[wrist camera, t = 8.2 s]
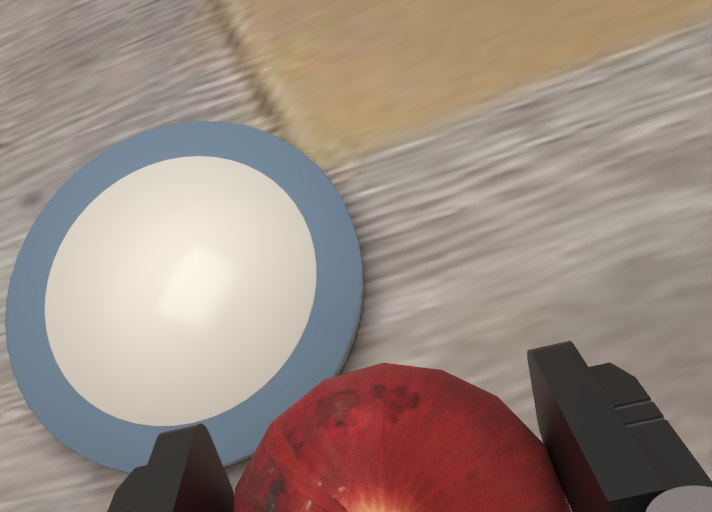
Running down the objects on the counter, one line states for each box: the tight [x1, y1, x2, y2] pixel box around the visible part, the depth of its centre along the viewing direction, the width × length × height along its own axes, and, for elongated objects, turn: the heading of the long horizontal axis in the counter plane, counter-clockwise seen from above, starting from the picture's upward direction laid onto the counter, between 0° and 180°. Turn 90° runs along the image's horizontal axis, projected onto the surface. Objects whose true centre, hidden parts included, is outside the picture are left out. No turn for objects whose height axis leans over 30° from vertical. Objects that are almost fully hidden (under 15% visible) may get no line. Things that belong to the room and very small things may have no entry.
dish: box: [5, 121, 364, 473], centre depth 32 cm, size 17×17×2 cm
